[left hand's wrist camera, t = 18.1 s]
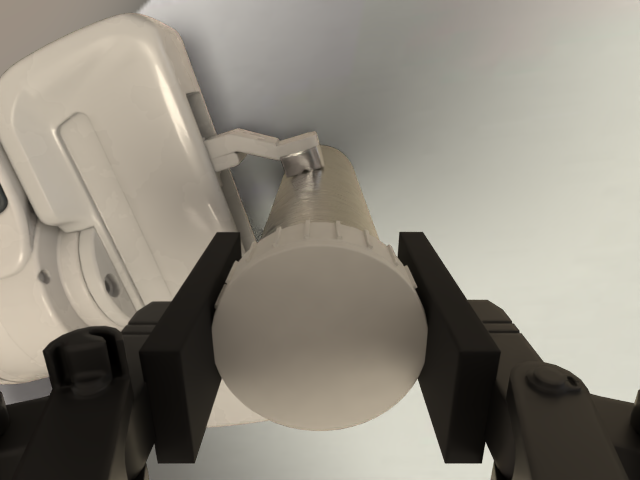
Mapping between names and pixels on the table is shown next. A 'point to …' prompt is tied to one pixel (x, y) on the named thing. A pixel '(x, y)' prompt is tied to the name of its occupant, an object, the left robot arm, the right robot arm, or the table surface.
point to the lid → (319, 327)
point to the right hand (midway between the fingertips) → (337, 205)
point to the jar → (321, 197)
